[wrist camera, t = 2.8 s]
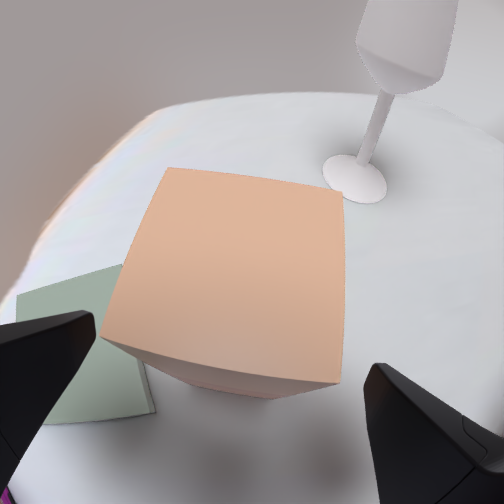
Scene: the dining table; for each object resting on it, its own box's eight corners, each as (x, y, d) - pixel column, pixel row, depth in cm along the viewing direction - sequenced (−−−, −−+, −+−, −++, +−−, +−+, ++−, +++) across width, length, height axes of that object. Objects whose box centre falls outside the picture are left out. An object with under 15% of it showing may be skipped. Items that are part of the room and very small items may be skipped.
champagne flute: (376, 158, 27) (441, -47, 6) (395, 206, 23) (496, -35, 3) (317, 151, 27) (362, -80, 6) (328, 200, 23) (404, -90, 3)
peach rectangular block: (272, 399, 15) (339, 383, 5) (190, 384, 15) (98, 336, 5) (283, 322, 18) (342, 191, 7) (206, 309, 18) (167, 167, 8)
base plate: (155, 412, 14) (149, 412, 13) (36, 424, 12) (26, 424, 11) (126, 271, 19) (121, 263, 18) (25, 301, 17) (16, 295, 16)
